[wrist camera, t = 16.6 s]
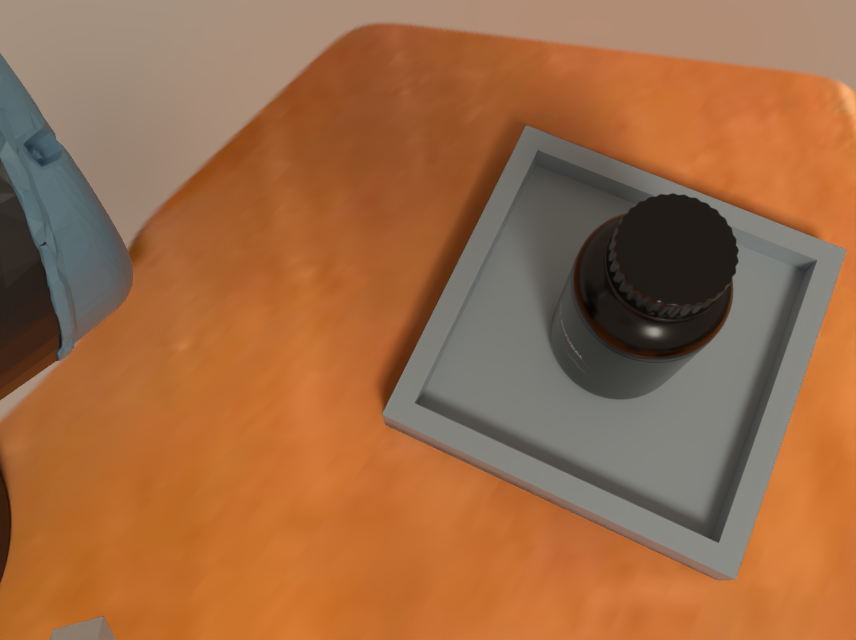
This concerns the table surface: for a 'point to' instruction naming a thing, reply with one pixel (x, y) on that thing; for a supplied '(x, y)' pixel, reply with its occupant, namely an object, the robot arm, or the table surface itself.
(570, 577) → the table surface
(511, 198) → the tray
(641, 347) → the supplement bottle
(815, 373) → the table surface
